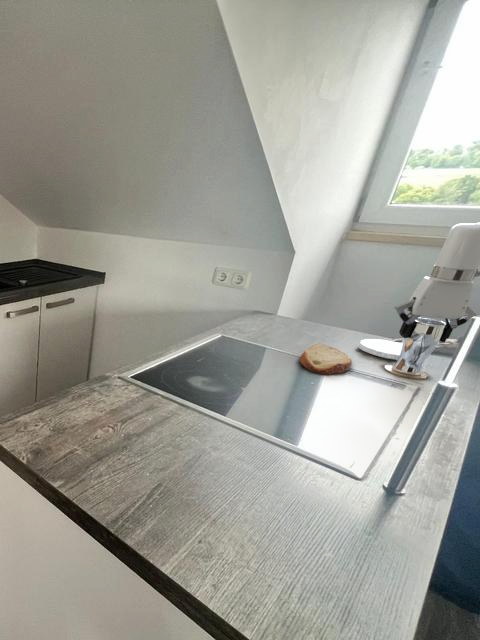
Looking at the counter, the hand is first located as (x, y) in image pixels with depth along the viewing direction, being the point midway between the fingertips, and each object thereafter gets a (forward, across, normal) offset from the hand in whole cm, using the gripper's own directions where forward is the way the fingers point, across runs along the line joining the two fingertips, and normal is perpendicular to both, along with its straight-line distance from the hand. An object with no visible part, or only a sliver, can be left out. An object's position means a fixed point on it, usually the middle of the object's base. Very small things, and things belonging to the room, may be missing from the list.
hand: (421, 338), depth 107 cm
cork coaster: (+11, 0, 0) cm, 11 cm away
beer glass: (+10, 0, 0) cm, 10 cm away
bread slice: (+11, +20, +1) cm, 23 cm away
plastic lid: (+11, 0, -14) cm, 18 cm away
